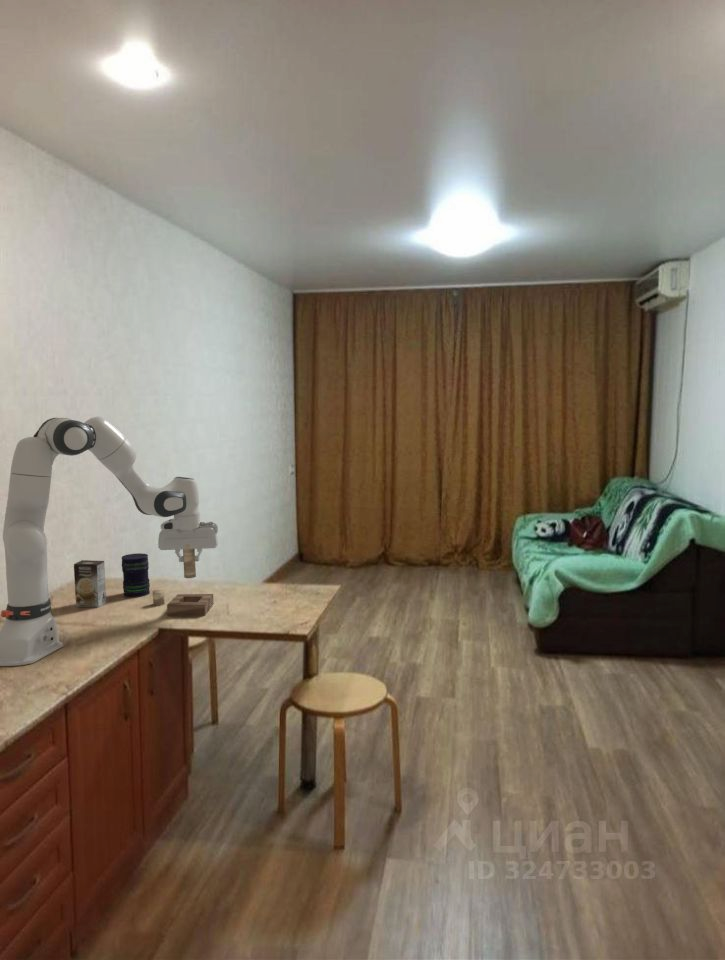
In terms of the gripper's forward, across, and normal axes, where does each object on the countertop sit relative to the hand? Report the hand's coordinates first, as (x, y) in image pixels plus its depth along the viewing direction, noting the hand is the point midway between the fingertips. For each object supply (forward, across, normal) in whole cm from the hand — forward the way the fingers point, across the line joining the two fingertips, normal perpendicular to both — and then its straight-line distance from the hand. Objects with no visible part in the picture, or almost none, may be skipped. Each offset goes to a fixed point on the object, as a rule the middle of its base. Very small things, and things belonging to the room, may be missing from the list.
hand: (189, 561), depth 241 cm
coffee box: (+18, +38, -11) cm, 44 cm away
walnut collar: (+18, 0, 0) cm, 18 cm away
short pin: (+18, +14, -9) cm, 24 cm away
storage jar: (+18, +25, -24) cm, 39 cm away
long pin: (+6, 0, 0) cm, 6 cm away
